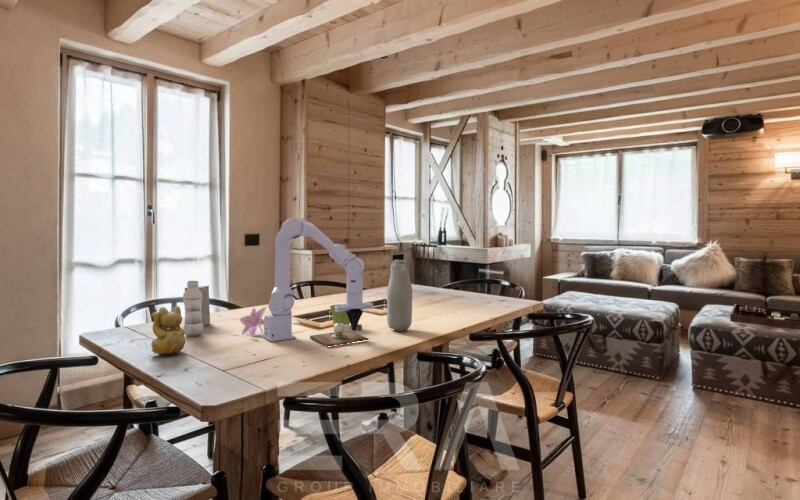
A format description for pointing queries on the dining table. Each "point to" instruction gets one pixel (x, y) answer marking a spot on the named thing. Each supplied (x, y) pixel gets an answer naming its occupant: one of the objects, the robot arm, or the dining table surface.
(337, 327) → the gray-tipped lever post
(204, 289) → the skincare box
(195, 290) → the plastic bottle
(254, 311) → the lily
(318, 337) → the brown rectangular board
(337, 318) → the plant pot
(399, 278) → the grey water bottle
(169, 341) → the decorative figurine
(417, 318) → the dining table surface
